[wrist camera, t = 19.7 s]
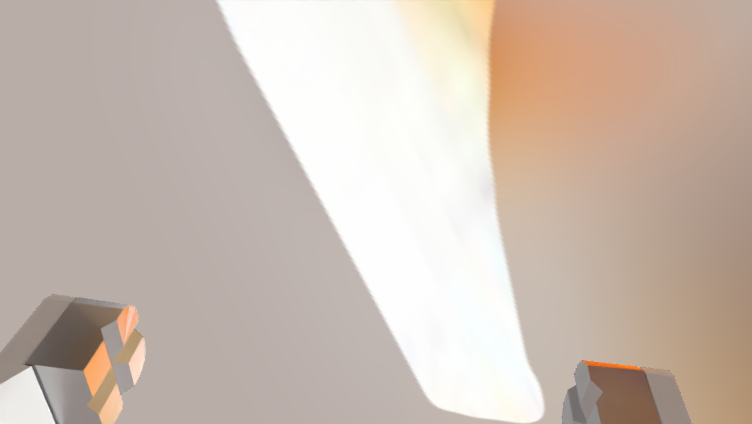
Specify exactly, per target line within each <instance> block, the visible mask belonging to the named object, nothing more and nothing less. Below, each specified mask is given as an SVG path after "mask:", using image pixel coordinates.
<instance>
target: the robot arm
mask: <svg viewBox="0 0 752 424" xmlns="http://www.w3.org/2000/svg"><path fill="white" fill-rule="evenodd" d="M138 321H139V317H138V314H137V310H136V307H134V306H131V305H126V304H120V303H113V302H106V301H99V300H93V299H86V298H80V297H79V298H77V297H70V296H64V295H56V294H52V295H51V296H49V297H47V298H45V299H44V300H43V301H42V302H41V304H40V305H39V306H38V307H37V308H36V310H35V311H34V312H33V313H32V315H31V316H30V317H29V318H28V319H27V321H26V322H25V323H24V324H23V326H22V327H21V328H20V329H19V330H18V332H17V333H16V334H15V335H14V337H13V338H12V339H11V340H10V342H9V343H8V344H7V345H6V346H5V348H4V349H3V350H2V351H1V353H0V424H114V423H115V421H116V419H117V417H118V415H119V413H120V412H121V410H122V408H123V403H122V398H121V394H123V393H124V392H126V391H128V390H129V389H131V388H132V387H134V386H135V384H136V382H137V380H138V378H139V376H140V374H141V371H142V368H143V364H144V360H145V342H144V337H143V336H142V335H141V334H140V333H139V332H138V331H137V330H136V329H135V326H136V324H137V323H138ZM574 376H575V382H576V385H575V386H574V387H572V388H570V389H569V390H568V391H567V394H566V397H565V400H564V403H563V411H562V424H693V423H692V421H691V418H690V415H689V413H688V410H687V408H686V405H685V403H684V400H683V397H682V395H681V392H680V389H679V387H678V384H677V382H676V379H675V376H674V375H673V374H672V373H671V372H670V371H669V370H662V369H652V368H645V367H637V366H630V365H620V364H611V363H602V362H594V361H585V360H582V361H581V362H580V363H579V364H578V365H577V368H576V370H575V373H574Z"/></svg>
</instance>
